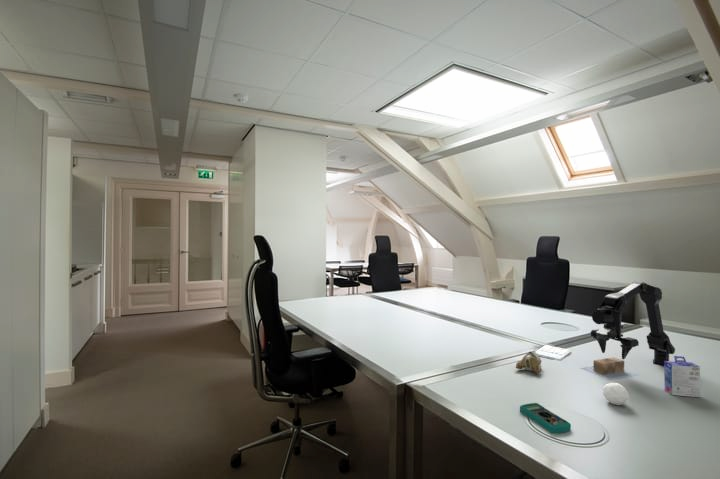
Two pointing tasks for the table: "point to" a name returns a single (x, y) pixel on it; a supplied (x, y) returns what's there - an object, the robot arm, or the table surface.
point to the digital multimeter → (545, 418)
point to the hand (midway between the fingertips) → (613, 355)
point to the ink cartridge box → (682, 377)
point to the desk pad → (610, 376)
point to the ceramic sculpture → (530, 362)
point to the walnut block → (608, 366)
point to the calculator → (553, 352)
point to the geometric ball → (615, 393)
